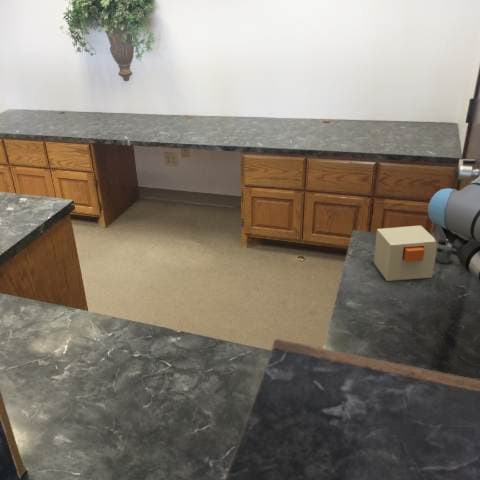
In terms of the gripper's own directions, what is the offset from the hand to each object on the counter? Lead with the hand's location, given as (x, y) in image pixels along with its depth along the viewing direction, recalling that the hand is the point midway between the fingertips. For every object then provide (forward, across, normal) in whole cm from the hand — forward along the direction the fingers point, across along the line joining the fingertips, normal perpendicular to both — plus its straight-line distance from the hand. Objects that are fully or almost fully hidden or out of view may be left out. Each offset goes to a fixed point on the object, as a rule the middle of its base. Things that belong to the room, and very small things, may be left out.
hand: (435, 215), depth 121 cm
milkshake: (+16, +13, -21) cm, 29 cm away
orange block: (+7, 0, -16) cm, 17 cm away
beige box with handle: (+12, 0, -22) cm, 25 cm away
